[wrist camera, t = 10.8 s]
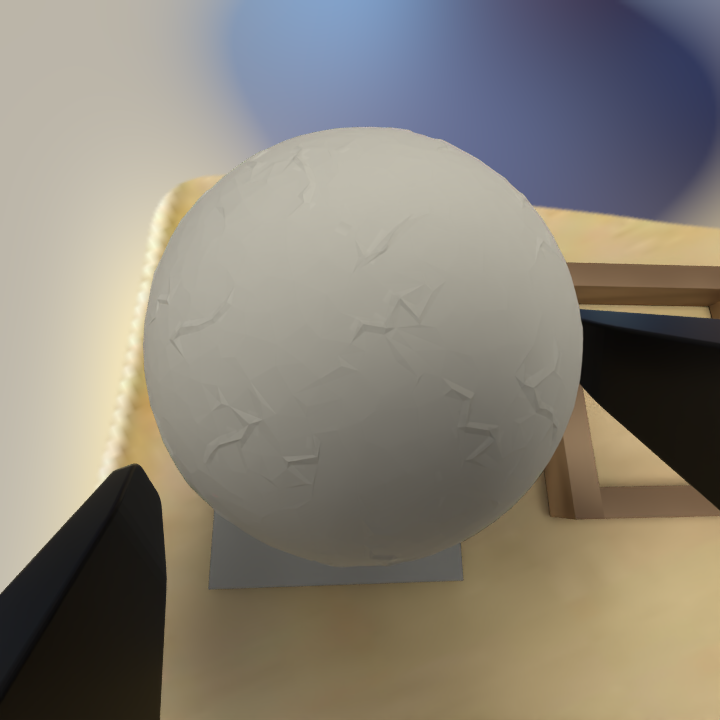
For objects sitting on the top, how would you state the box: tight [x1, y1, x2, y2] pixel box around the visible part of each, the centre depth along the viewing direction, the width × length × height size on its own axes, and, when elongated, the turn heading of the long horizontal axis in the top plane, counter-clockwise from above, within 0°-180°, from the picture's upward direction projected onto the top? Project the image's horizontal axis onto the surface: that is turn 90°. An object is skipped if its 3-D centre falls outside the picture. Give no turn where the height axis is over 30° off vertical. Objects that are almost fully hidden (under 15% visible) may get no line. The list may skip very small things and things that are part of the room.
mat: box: [208, 510, 463, 589], centre depth 19 cm, size 12×10×1 cm
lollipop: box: [143, 127, 583, 567], centre depth 12 cm, size 7×7×15 cm
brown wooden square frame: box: [544, 262, 720, 519], centre depth 20 cm, size 11×11×2 cm
